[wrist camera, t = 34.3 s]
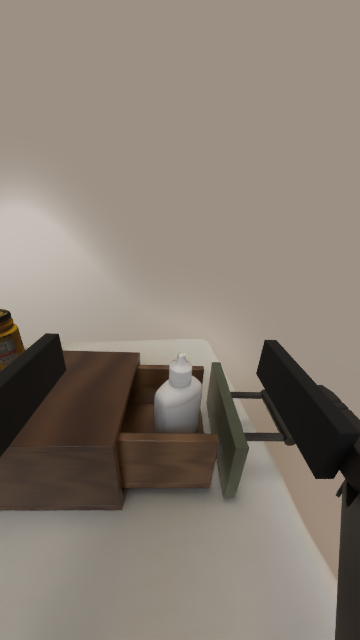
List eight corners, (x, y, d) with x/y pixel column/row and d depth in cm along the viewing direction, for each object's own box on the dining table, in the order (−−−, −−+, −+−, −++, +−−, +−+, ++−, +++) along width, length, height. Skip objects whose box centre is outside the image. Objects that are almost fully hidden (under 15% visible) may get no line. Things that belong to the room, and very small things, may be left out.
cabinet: (141, 403, 33) (139, 352, 29) (121, 510, 20) (113, 447, 16) (41, 401, 32) (25, 349, 28) (-43, 511, 20) (-92, 445, 16)
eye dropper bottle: (202, 449, 24) (214, 366, 19) (154, 453, 23) (154, 369, 19) (195, 418, 28) (203, 343, 23) (154, 421, 27) (153, 344, 22)
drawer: (255, 403, 32) (266, 363, 29) (298, 497, 21) (324, 448, 18) (121, 401, 32) (117, 359, 28) (91, 498, 20) (79, 446, 17)
